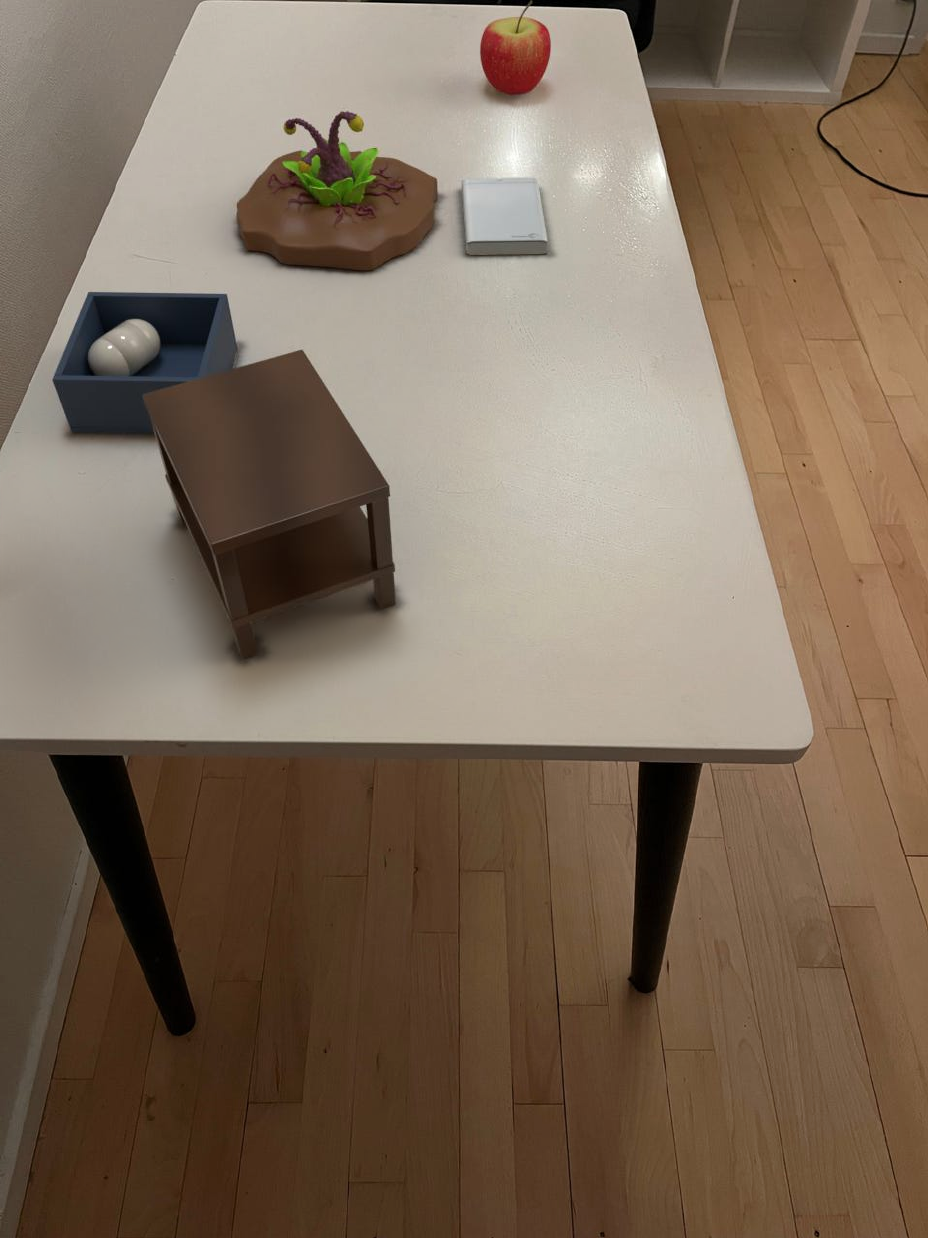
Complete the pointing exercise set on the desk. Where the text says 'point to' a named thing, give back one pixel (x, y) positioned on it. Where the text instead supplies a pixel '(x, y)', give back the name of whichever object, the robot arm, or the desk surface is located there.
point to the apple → (515, 53)
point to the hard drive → (503, 216)
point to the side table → (273, 489)
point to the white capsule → (124, 349)
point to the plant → (336, 204)
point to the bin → (187, 352)
